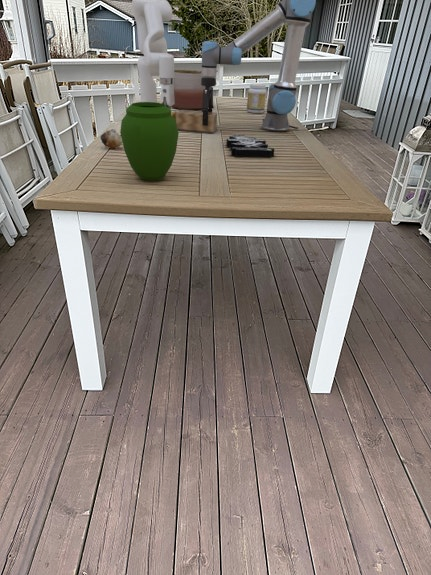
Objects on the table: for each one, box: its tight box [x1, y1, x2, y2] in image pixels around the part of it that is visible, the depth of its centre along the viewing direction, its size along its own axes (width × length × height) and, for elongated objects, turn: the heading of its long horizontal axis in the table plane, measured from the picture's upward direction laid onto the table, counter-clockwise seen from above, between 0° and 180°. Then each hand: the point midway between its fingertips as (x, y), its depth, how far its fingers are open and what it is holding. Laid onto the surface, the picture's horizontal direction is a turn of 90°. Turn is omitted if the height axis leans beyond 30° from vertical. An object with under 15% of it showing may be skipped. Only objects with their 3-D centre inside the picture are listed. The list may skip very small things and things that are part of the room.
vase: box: [119, 101, 179, 182], centre depth 140 cm, size 20×20×24 cm
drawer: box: [171, 111, 178, 120], centre depth 219 cm, size 24×10×7 cm, turn 80°
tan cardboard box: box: [176, 109, 218, 135], centre depth 218 cm, size 20×11×9 cm, turn 80°
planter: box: [171, 69, 205, 111], centre depth 276 cm, size 25×25×22 cm
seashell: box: [100, 128, 123, 149], centre depth 178 cm, size 10×6×8 cm, turn 91°
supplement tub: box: [246, 83, 267, 114], centre depth 274 cm, size 12×12×17 cm
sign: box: [225, 134, 275, 158], centre depth 189 cm, size 19×3×30 cm
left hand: (167, 119), depth 220 cm, fingers closed
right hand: (207, 123), depth 218 cm, fingers closed on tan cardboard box, 11 cm apart
